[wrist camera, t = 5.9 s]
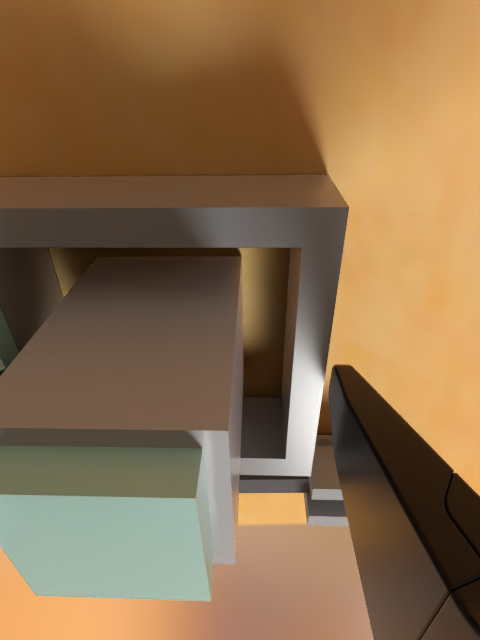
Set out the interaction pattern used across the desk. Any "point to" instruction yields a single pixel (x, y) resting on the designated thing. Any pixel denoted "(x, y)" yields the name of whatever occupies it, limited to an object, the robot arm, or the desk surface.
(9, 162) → the desk surface
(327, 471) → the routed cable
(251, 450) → the frame
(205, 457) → the block
